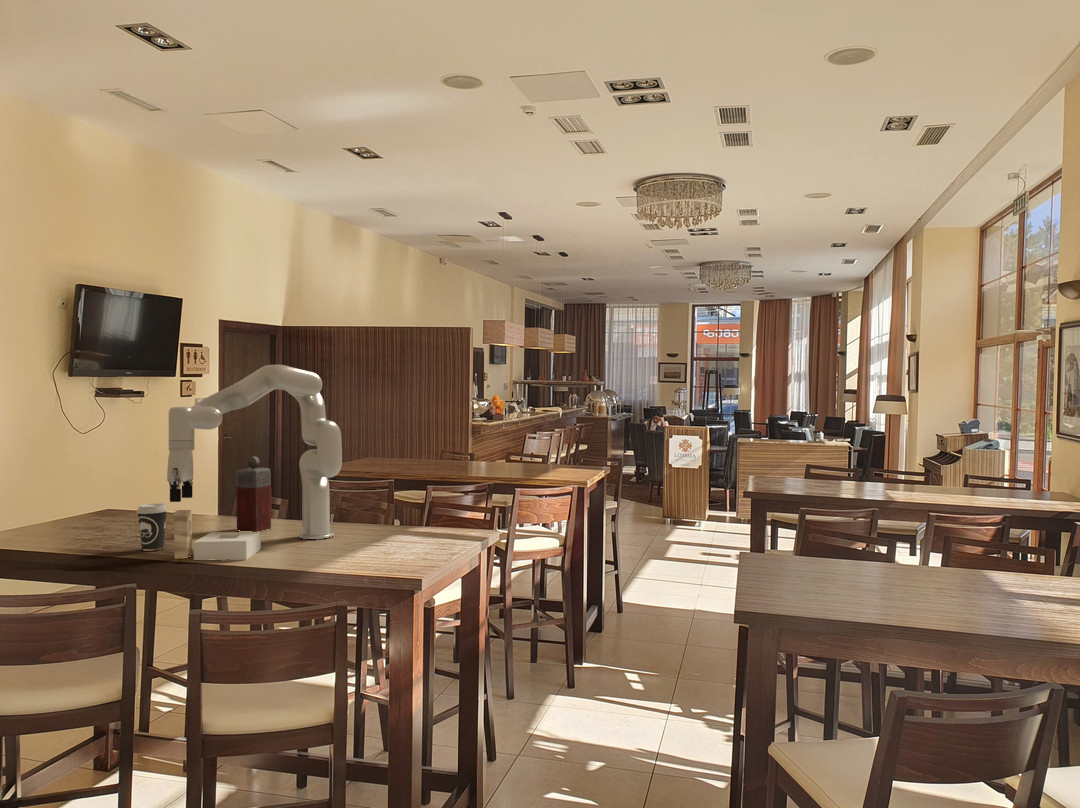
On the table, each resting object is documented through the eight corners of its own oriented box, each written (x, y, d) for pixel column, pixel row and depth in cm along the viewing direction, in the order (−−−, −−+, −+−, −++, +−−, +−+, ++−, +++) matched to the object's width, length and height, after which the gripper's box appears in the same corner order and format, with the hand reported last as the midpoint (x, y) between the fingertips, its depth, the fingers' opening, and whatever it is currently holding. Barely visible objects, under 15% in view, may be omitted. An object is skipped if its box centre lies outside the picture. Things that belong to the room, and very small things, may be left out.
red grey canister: (275, 527, 304) (274, 455, 304) (256, 532, 294) (256, 457, 293) (255, 526, 307) (254, 454, 306) (236, 531, 296) (235, 457, 295)
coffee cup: (169, 550, 262) (169, 505, 261) (137, 554, 257) (136, 508, 257) (167, 545, 270) (166, 502, 270) (136, 548, 265) (135, 504, 265)
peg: (179, 556, 252) (178, 510, 252) (192, 556, 253) (191, 509, 252) (174, 559, 248) (173, 512, 248) (187, 559, 249) (186, 511, 248)
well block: (211, 550, 262) (211, 532, 262) (260, 549, 263) (260, 531, 263) (193, 561, 246) (193, 541, 246) (246, 559, 247) (246, 540, 247)
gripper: (179, 444, 258) (179, 496, 258) (158, 447, 241) (158, 503, 241) (203, 444, 259) (203, 496, 259) (183, 447, 241) (183, 503, 242)
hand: (181, 499), depth 250 cm, fingers open, 9 cm apart
